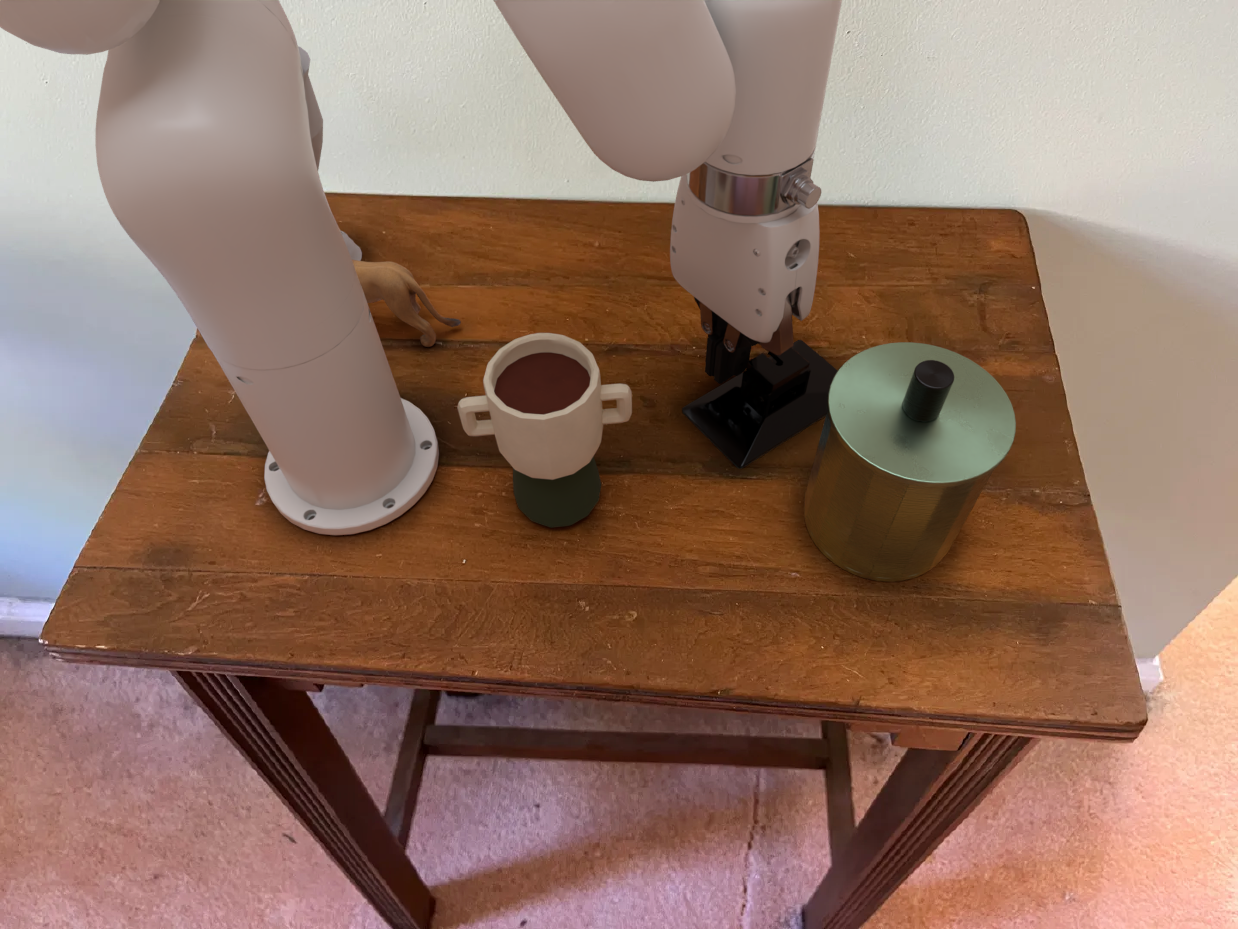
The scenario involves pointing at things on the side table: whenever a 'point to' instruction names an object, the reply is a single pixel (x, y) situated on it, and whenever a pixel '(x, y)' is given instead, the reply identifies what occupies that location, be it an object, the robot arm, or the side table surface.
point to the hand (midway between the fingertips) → (726, 369)
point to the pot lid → (921, 414)
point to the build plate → (764, 403)
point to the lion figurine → (399, 295)
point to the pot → (880, 515)
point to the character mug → (547, 423)
